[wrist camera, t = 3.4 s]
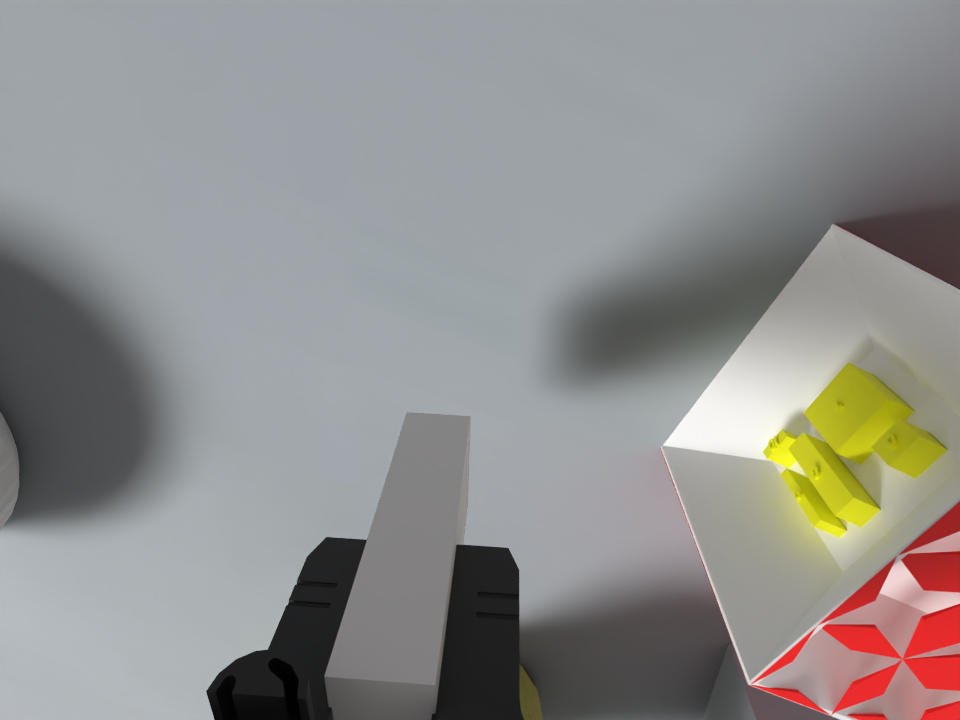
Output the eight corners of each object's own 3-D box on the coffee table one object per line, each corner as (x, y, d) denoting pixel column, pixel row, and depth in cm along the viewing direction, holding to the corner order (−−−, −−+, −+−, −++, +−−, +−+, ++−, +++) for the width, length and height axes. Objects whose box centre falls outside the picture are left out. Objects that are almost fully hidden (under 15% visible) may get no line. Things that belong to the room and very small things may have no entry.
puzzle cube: (831, 222, 15) (1113, 367, 8) (1062, 345, 16) (1489, 568, 9) (658, 448, 18) (745, 688, 11) (858, 535, 20) (1049, 802, 13)
